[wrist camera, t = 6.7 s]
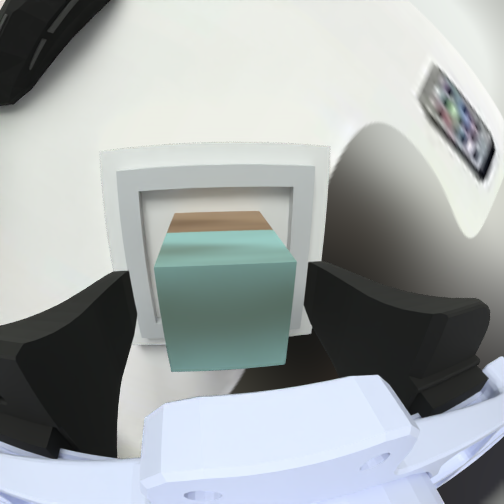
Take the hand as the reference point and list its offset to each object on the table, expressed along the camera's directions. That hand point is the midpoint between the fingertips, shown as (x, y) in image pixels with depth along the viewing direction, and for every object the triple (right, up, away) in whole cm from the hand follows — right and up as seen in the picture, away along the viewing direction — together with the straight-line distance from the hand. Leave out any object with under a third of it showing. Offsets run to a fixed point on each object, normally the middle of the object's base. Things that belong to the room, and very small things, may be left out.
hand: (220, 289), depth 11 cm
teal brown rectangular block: (0, +2, +3) cm, 3 cm away
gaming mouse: (-11, +14, -2) cm, 18 cm away
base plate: (-1, +2, +4) cm, 4 cm away
